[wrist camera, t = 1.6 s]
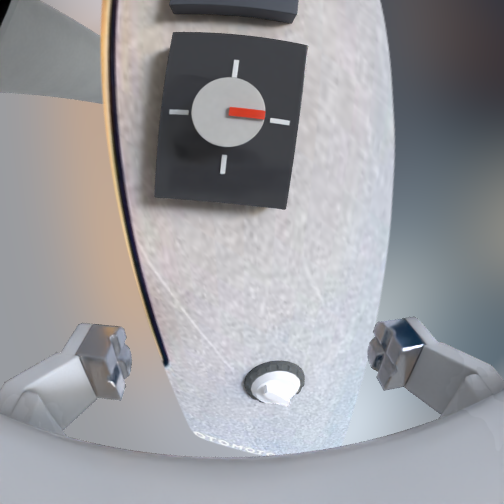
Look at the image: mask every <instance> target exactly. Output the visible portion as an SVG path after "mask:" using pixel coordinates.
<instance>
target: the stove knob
mask: <svg viewBox="0 0 504 504" xmlns="http://www.w3.org/2000/svg"><path fill="white" fill-rule="evenodd" d="M303 386H304V373H303V371H302V369H301V368H300V367H299V366H297V365H295V364H294V363H290V362H286V361H272V362H267V363H264V364H261V365H259V366H257V367H255V368H254V369H253V370H251V371H250V372H249V374H248V375H247V376H246V379H245V388H246V391H247V393H248V394H249V395H250V396H251V397H252V398H253V399H257V400H259V401H260V402H263V403H264V402H265V403H268V404H280V405H282V406H287V407H288V406H289V405H290V399H291V398H293V397H294V395H295V394H298V393H299V392H300V391H301V389H302V387H303Z"/></svg>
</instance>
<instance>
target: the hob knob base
mask: <svg viewBox="0 0 504 504" xmlns="http://www.w3.org/2000/svg"><path fill="white" fill-rule="evenodd" d="M307 52H308V45H303V44H298V43H293V42H288V41H282V40H276V39H269V38H262V37H254V36H245V35H235V34H222V33H202V32H173V35H172V40H171V45H170V51H169V57H168V63H167V69H166V76H165V83H164V90H163V98H162V106H161V115H160V124H159V134H158V146H157V159H156V175H155V198H169V199H183V200H195V201H207V202H219V203H229V204H240V205H249V206H259V207H268V208H277V209H286V206H287V199H288V193H289V186H290V180H291V173H292V166H293V159H294V152H295V145H296V138H297V131H298V124H299V116H300V109H301V101H302V93H303V85H304V77H305V69H306V61H307ZM225 77H234V78H239V79H242V80H245V81H247V82H249V83H250V84H252V85H253V86H254V87H255V88H256V89H257V90H258V91H259V93H260V94H261V96H262V98H263V100H264V104H265V111H266V112H265V119H264V123H263V125H262V127H261V129H260V130H259V132H258V133H257V134H256V135H255V136H254V137H253V138H252V139H251V140H249V141H248V142H246V143H244V144H242V145H239V146H234V147H221V146H217V145H214V144H211V143H209V142H208V141H206V140H205V139H204V138H202V137H201V136H200V135H199V133H198V132H197V131H196V129H195V127H194V124H193V121H192V115H191V111H192V104H193V101H194V99H195V97H196V95H197V94H198V92H199V91H200V90H201V89H202V88H203V87H204V86H205V85H206V84H208V83H210V82H211V81H213V80H216V79H219V78H225Z"/></svg>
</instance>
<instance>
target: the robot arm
mask: <svg viewBox="0 0 504 504" xmlns="http://www.w3.org/2000/svg"><path fill="white" fill-rule="evenodd" d="M373 333H374V335H375V337H374V338H373V339H372V340H371V342H370V343H369V347H368V360H369V364H370V366H371V368H373V369H374V370H376V371H378V374H377V379H378V381H379V383H380V384H381V386H382V388H383V390H390V389H395V388H400V387H405V388H406V389H407V390H408V391H410V392H411V393H413V394H414V395H415V396H416V397H418V398H419V399H421V400H422V401H423V402H425V403H426V404H428V405H429V406H430V407H431V408H433V409H434V410H436V411H437V412H438V413H440V414H441V416H440V417H439V419H436V420H434V421H431V422H428V423H425V424H423V425H420V426H417V427H414V428H410V429H407V430H404V431H401V432H398V433H394V434H391V435H387V436H384V437H380V438H376V439H372V440H368V441H364V442H359V443H355V444H350V445H345V446H340V447H334V448H329V449H323V450H316V451H309V452H302V453H293V454H284V455H272V456H258V457H192V456H177V455H165V454H156V453H147V452H140V451H133V450H127V449H121V448H115V447H110V446H105V445H100V444H96V443H91V442H87V441H83V440H79V439H75V438H71V437H67V436H66V434H65V433H64V432H63V430H64V429H65V428H66V427H67V426H68V425H69V424H70V423H72V422H73V421H74V420H75V419H76V418H77V417H78V416H79V415H80V414H82V413H83V412H84V411H85V410H86V409H87V408H88V407H89V406H90V405H91V404H92V403H94V402H95V401H96V400H97V398H104V399H111V400H120V401H121V399H122V396H123V393H124V390H125V387H126V384H125V381H124V379H125V378H127V377H128V376H129V374H130V371H131V365H132V357H131V352H130V348H129V347H128V346H127V345H126V344H125V340H126V334H125V330H124V328H122V327H119V326H109V325H99V324H89V323H81V324H79V325H78V326H77V328H76V329H75V331H74V332H73V334H72V335H71V337H70V339H69V340H68V342H67V343H66V345H65V347H64V348H63V350H62V351H61V353H55V354H53V355H52V356H50V357H48V358H46V359H44V360H43V361H41V362H39V363H37V364H36V365H34V366H32V367H30V368H29V369H27V370H25V371H23V372H22V373H20V374H18V375H16V376H14V377H13V378H11V379H9V380H8V381H6V382H5V383H4V384H3V386H2V388H1V389H0V504H504V380H503V378H502V377H501V376H500V375H499V374H498V372H497V371H496V370H495V369H494V368H493V366H492V365H490V364H487V363H485V362H483V361H481V360H479V359H477V358H475V357H472V356H470V355H468V354H466V353H464V352H462V351H459V350H457V349H455V348H453V347H451V346H449V345H447V344H444V343H442V342H440V343H438V342H437V340H436V339H435V338H434V337H433V335H432V334H431V333H430V332H429V331H428V330H427V329H426V327H425V326H424V325H423V324H422V323H421V322H420V320H419V319H418V318H416V317H408V318H402V319H398V320H389V321H381V322H377V324H376V325H375V327H374V330H373Z"/></svg>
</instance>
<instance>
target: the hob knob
mask: <svg viewBox="0 0 504 504" xmlns="http://www.w3.org/2000/svg"><path fill="white" fill-rule="evenodd" d="M265 112H266V111H265V104H264V100H263V98H262V96H261V94H260V93H259V91H258V90H257V89H256V88H255V87H254V86H253V85H252V84H250V83H249V82H247V81H245V80H242V79H239V78H234V77H225V78H219V79H216V80H213V81H211V82H210V83H208V84H206V85H205V86H204V87H203V88H202V89H201V90H200V91H199V92H198V94H197V95H196V97H195V99H194V101H193V104H192V111H191V115H192V121H193V124H194V127H195V129H196V131H197V132H198V133H199V135H200V136H201V137H202V138H204V139H205V140H206V141H208V142H209V143H211V144H214V145H217V146H221V147H234V146H239V145H242V144H244V143H246V142H248V141H249V140H251V139H252V138H253V137H254V136H255V135H256V134H257V133H258V132H259V130H260V129H261V127H262V125H263V123H264V119H265Z"/></svg>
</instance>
